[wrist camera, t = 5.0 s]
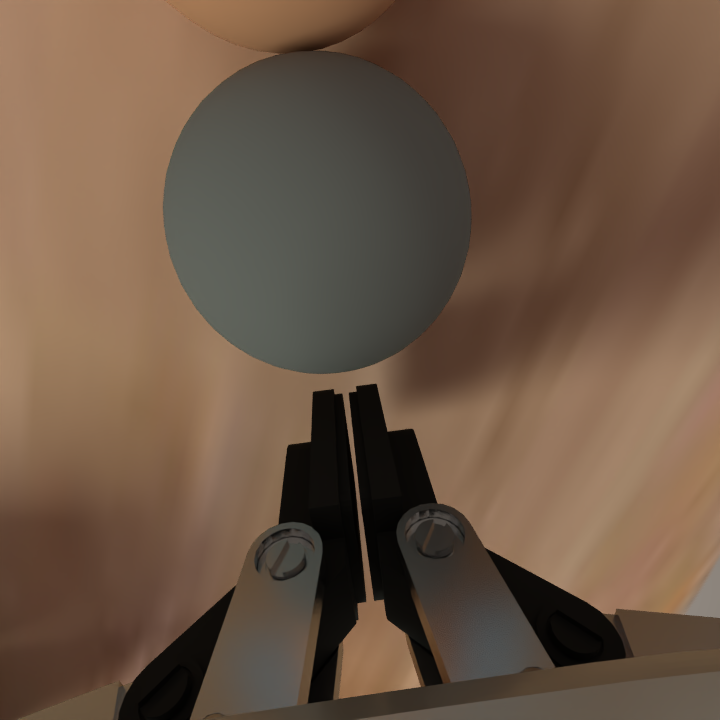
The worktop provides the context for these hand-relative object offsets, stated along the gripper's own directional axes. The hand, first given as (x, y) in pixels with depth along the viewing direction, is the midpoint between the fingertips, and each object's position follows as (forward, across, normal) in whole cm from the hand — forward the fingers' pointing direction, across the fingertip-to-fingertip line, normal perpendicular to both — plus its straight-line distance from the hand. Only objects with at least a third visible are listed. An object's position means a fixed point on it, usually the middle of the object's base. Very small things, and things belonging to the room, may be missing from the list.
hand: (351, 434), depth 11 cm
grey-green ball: (-1, 0, -6) cm, 6 cm away
